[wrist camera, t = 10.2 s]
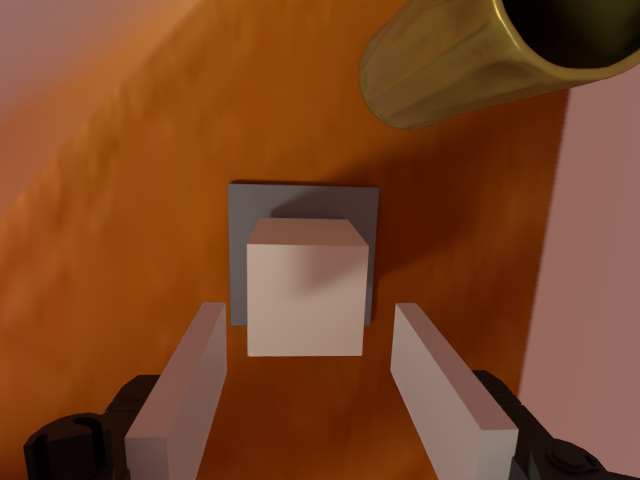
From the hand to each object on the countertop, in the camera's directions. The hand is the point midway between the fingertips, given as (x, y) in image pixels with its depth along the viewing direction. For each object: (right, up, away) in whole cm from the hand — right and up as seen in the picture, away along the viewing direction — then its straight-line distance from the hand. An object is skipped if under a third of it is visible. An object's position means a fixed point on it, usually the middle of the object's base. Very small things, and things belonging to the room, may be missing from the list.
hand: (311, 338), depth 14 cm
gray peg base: (-1, +2, +11) cm, 11 cm away
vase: (+6, +13, +9) cm, 17 cm away
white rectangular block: (-1, +2, +10) cm, 10 cm away
